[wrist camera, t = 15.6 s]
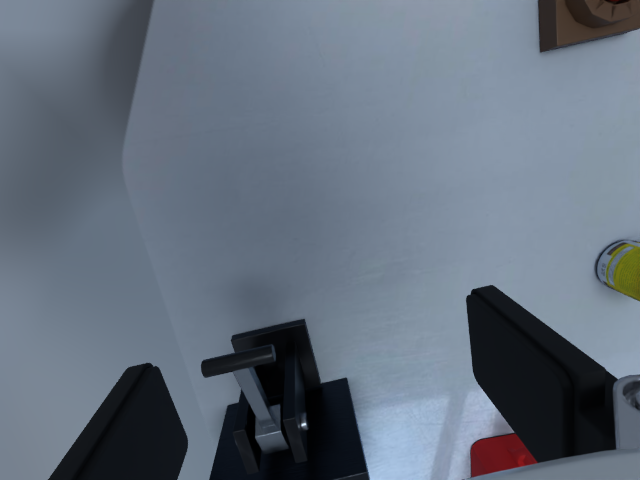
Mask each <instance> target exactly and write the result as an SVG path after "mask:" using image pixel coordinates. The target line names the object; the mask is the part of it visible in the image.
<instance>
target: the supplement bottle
mask: <svg viewBox="0 0 640 480" xmlns="http://www.w3.org/2000/svg"><path fill="white" fill-rule="evenodd" d="M597 271H598V276H599V278H600V280H601V281H602V282H603V283H604V284H605V285H606V286H608V287H610V288H612V289H614V290H616V291H618V292H621V293H623V294H625V295H627V296H629V297H631V298H633V299H636V300H638V301H640V242H636V241H629V240H627V241H621V242H618V243H615V244H613V245H612V246H610V247H609V248H608V249H607V250H606V251H605V252H604V253H603V254H602V256H601V257H600V260H599V262H598V267H597Z"/></svg>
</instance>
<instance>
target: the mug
mask: <svg viewBox="0 0 640 480" xmlns="http://www.w3.org/2000/svg"><path fill="white" fill-rule="evenodd" d="M536 463H538V462H537V461H536V460H535V458H534V457H533V456H532V454H531V453H530V452H529V451H528V449H527V448H526V447H525V445H524V444H523V443H522V441H521V440H520V439H519V437H518V436H517V435H516V434H510V435H504V436H499V437H493V438H488V439H482V440H480V441H477V442H476V443H475V444H474V445H473V446H472V449H471V475H472V477H476V476H481V475H485V474H489V473H494V472H498V471H503V470H508V469H513V468H518V467H522V466H527V465H532V464H536Z"/></svg>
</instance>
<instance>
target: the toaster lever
mask: <svg viewBox="0 0 640 480" xmlns="http://www.w3.org/2000/svg"><path fill="white" fill-rule="evenodd" d="M275 361H276V354H275V349H274V346H273V345H272V344H271V345H266V346H262V347H258V348H253V349H249V350H245V351H240V352H236V353H232V354H227V355H223V356H219V357H214V358H210V359H206V360H203V361H202V364H201V370H202V374H203V376H204V377H205V378H207V377H211V376H216V375H220V374H224V373H228V372H233V373H234V375H235V377H236V379H237V381H238V383H239V385H240V387H241V389H242V391H243V393H244V394H245V396H246V398H247V400H248V402H249V404H250V406H251V408H252V410H253V412H254V414H255V439H256V441H257V443H258V445H259V446H260V448H261V450H262V452H263V454H269V453H273V452H277V451H281V450H286V449H289V439H288V436H287V433H286V429H285V426H284V423H283V409H282V407H281V405H280V404H278V405H274V406H271V405H270V403H269V401H268V399H267V396H266V394H265V392H264V390H263V388H262V386H261V383H260V381H259V379H258V377H257V375H256V372H255V370H254V368H253V367H254V366H259V365H263V364H267V363H272V362H275Z"/></svg>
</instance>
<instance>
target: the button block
mask: <svg viewBox="0 0 640 480" xmlns="http://www.w3.org/2000/svg"><path fill="white" fill-rule="evenodd" d="M539 25H540V52H545V51H549V50H554V49H558V48H562V47H567V46H571V45H576V44H580V43H584V42H589V41H593V40H598V39H602V38H607V37H611V36H615V35H620V34H624V33H627V32H630V31H634V30H637V29H640V0H619V1H610V0H539Z"/></svg>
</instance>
